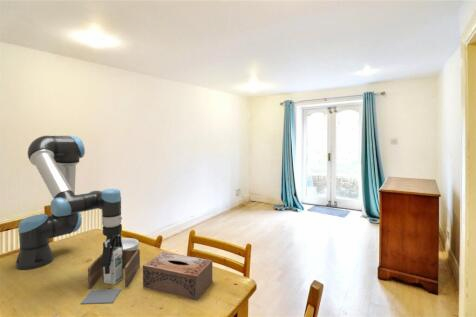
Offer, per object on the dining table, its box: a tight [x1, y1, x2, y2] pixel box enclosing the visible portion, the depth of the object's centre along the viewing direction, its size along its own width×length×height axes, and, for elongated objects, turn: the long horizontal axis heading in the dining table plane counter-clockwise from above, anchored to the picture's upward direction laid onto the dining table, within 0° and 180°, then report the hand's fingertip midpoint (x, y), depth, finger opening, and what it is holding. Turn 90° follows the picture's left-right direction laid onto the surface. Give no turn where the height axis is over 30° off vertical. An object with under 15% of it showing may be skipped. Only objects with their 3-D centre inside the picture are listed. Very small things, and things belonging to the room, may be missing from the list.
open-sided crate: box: [87, 248, 141, 290], centre depth 120 cm, size 16×18×9 cm
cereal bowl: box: [121, 237, 140, 250], centre depth 142 cm, size 17×17×7 cm
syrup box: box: [103, 247, 124, 285], centre depth 117 cm, size 6×6×14 cm
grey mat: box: [79, 288, 122, 305], centre depth 105 cm, size 12×9×1 cm
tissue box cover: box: [142, 251, 213, 301], centre depth 114 cm, size 26×14×10 cm, turn 71°
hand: (113, 273), depth 117 cm, fingers open, 10 cm apart
